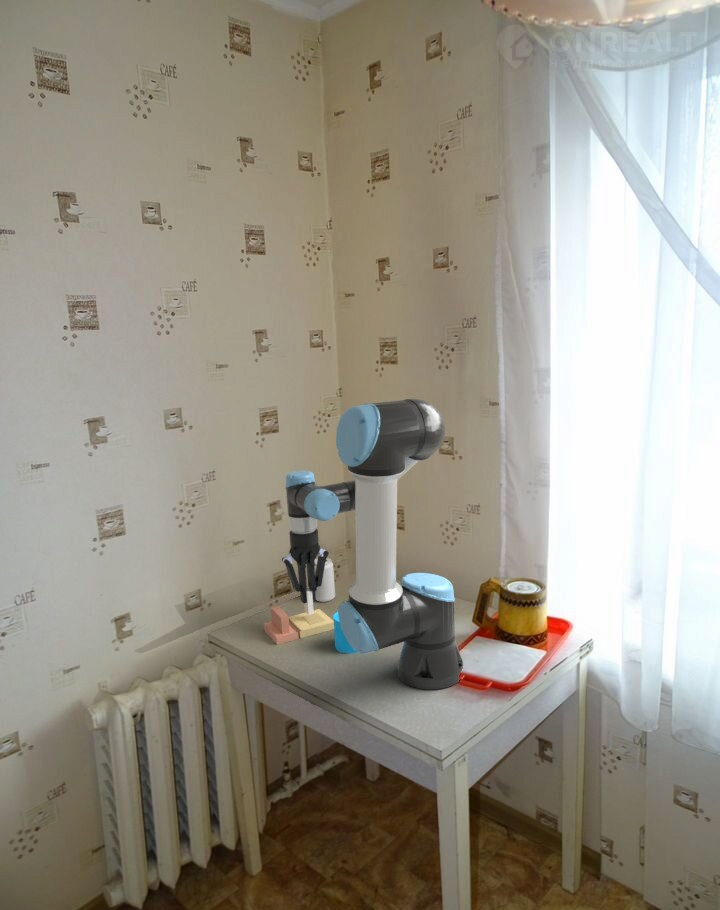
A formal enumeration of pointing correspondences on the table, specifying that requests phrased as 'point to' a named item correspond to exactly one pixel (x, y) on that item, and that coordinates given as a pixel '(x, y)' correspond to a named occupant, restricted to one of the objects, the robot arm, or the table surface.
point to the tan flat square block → (311, 623)
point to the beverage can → (326, 583)
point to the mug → (341, 637)
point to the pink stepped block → (280, 627)
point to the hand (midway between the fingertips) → (309, 612)
